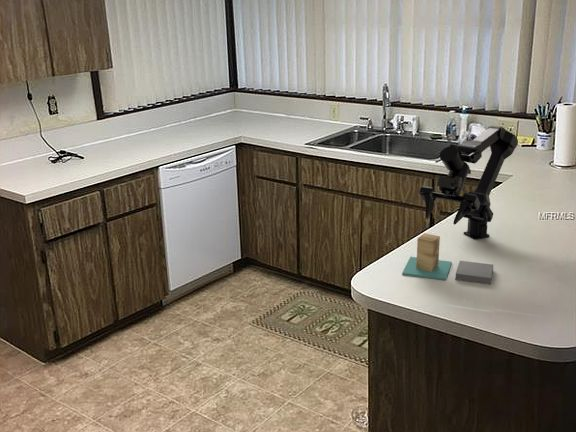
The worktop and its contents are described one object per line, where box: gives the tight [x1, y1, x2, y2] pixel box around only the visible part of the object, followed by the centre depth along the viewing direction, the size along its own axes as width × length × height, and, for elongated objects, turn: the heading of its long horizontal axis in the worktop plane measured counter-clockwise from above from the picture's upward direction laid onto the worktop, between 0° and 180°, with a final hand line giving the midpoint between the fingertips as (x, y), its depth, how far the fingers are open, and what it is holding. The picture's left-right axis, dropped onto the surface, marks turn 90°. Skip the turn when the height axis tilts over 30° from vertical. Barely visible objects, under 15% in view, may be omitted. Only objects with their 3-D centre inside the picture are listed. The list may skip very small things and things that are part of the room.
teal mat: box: [401, 256, 452, 281], centre depth 196 cm, size 13×13×1 cm
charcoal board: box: [454, 260, 494, 285], centre depth 191 cm, size 10×10×2 cm
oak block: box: [416, 233, 441, 272], centre depth 195 cm, size 5×5×10 cm
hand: (440, 221), depth 198 cm, fingers open, 9 cm apart
